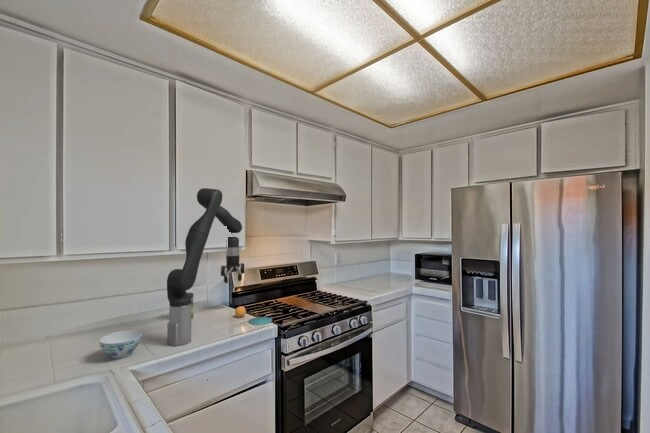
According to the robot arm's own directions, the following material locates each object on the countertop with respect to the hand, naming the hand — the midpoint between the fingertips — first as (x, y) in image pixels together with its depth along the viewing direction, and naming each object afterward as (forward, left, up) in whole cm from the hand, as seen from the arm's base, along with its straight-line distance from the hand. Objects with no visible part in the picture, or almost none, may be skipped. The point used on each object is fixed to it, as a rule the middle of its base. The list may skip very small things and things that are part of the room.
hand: (232, 282), depth 185 cm
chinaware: (-63, -1, -20) cm, 66 cm away
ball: (-1, -7, -16) cm, 18 cm away
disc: (-1, -22, -19) cm, 29 cm away
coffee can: (-20, +18, -20) cm, 33 cm away
